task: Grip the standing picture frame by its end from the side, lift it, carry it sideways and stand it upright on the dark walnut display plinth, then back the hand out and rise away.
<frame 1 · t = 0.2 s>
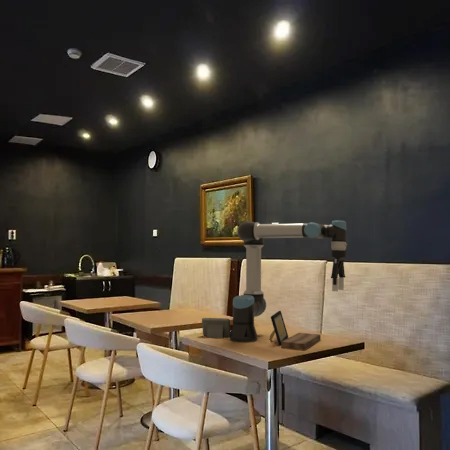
hand: (338, 290, 229), 27 cm above the table, tool pointing down, fingers open, 13 cm apart
plinth: (301, 343, 226), on the table
digital clock: (216, 337, 245), on the table
picture frame: (276, 341, 233), on the table
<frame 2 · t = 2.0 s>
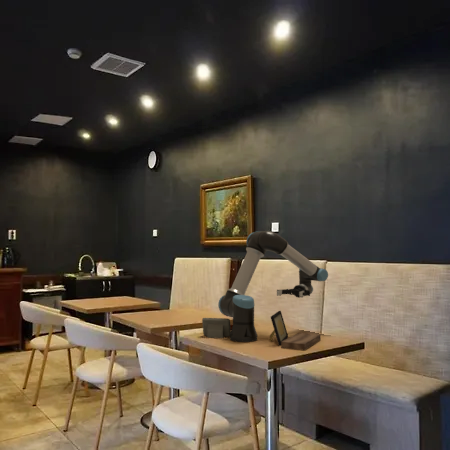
hand: (288, 293, 249), 24 cm above the table, tool horizontal, fingers open, 13 cm apart
nothing on the table moved.
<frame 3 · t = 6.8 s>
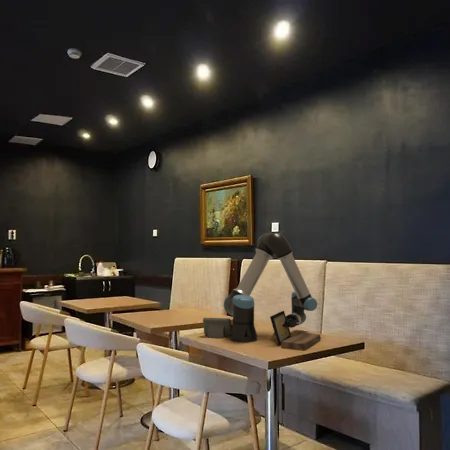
hand: (277, 326, 233), 8 cm above the table, tool horizontal, fingers closed on picture frame
picture frame: (278, 341, 233), on the table, touching gripper
everything else where it was.
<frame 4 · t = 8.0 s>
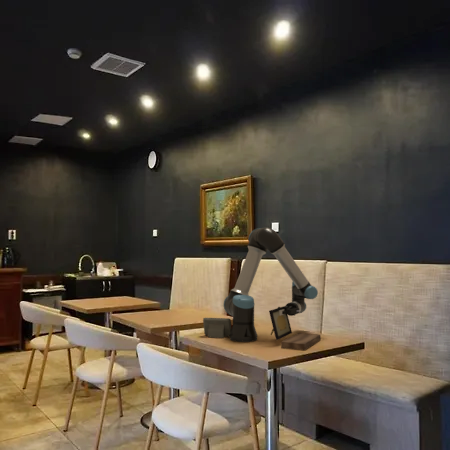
hand: (278, 313, 233), 15 cm above the table, tool horizontal, fingers closed
picture frame: (277, 336, 234), point 2 cm above the table, touching gripper
everything else where it was.
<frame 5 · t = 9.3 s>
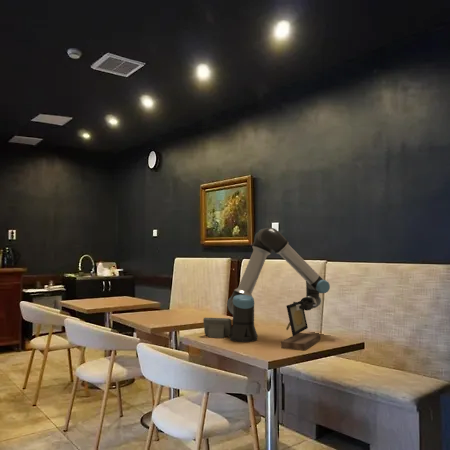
hand: (295, 307, 230), 18 cm above the table, tool horizontal, fingers closed
picture frame: (293, 331, 230), point 6 cm above the table, touching gripper
everything else where it was.
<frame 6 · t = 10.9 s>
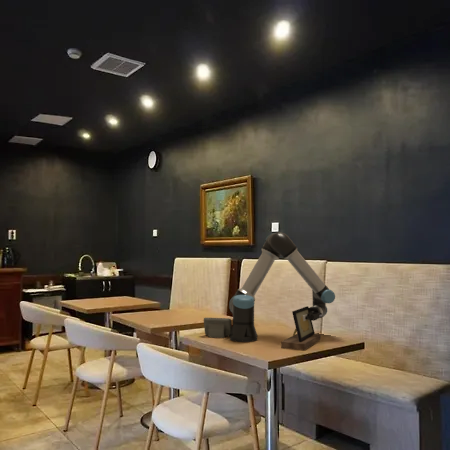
hand: (301, 318, 227), 13 cm above the table, tool horizontal, fingers closed
picture frame: (300, 337, 228), point 3 cm above the table, touching gripper, plinth
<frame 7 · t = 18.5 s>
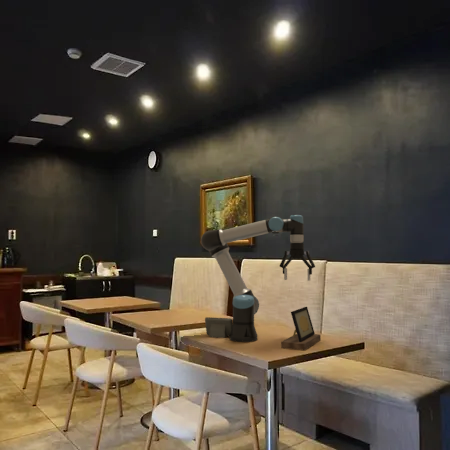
hand: (297, 280, 246), 32 cm above the table, tool pointing down, fingers open, 13 cm apart
picture frame: (300, 337, 228), point 3 cm above the table, touching plinth
at the end: picture frame inside the target area on the plinth (1.5 cm from its centre), point 2.8 cm above the plinth's base; picture frame tilted 2°; the gripper is holding nothing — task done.
